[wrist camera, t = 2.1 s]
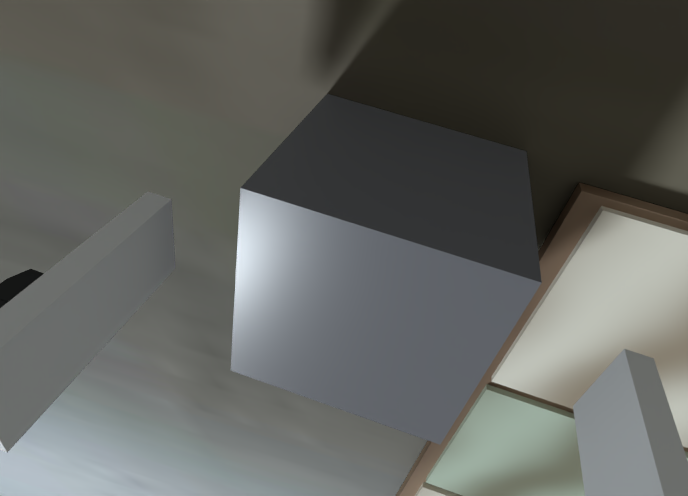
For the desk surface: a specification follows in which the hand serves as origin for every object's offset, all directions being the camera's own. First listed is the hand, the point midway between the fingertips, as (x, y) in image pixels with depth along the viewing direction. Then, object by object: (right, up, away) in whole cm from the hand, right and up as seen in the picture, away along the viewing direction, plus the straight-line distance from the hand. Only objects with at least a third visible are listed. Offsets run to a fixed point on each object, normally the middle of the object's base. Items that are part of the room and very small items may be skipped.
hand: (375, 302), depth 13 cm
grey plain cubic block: (+1, +3, +4) cm, 6 cm away
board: (+9, -9, +11) cm, 17 cm away
